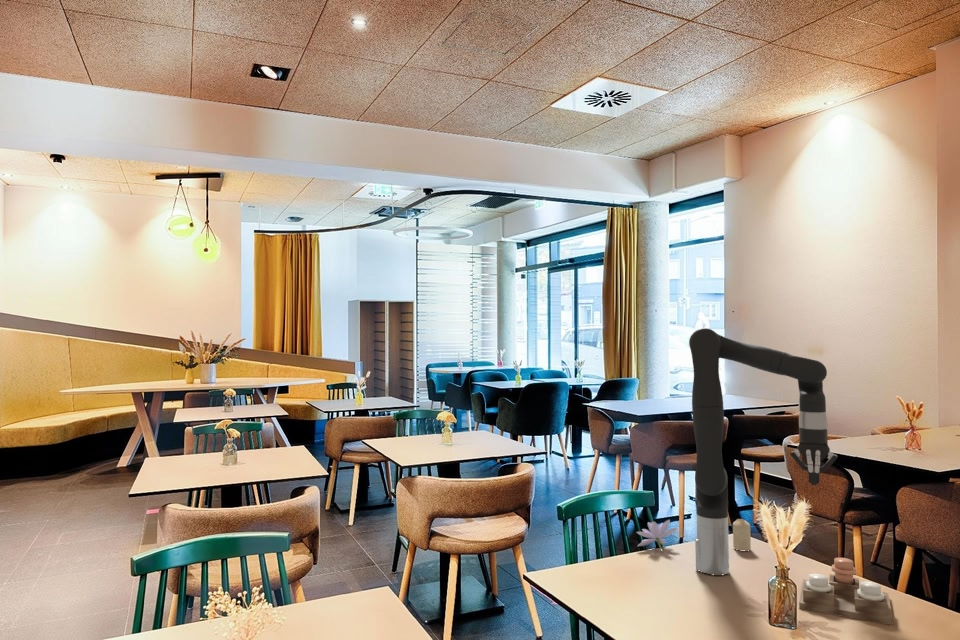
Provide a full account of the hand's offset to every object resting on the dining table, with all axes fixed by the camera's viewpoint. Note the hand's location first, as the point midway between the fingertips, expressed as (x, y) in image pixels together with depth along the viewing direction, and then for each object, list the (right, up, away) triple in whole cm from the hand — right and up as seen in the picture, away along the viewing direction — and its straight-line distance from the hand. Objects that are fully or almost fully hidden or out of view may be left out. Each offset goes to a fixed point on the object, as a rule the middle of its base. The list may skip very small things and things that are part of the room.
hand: (814, 484), depth 191 cm
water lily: (-39, -30, +31) cm, 58 cm away
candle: (-10, -29, +28) cm, 42 cm away
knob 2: (+2, -26, -24) cm, 35 cm away
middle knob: (+2, -24, -13) cm, 27 cm away
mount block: (-1, -28, -17) cm, 33 cm away
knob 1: (-8, -26, -18) cm, 33 cm away
